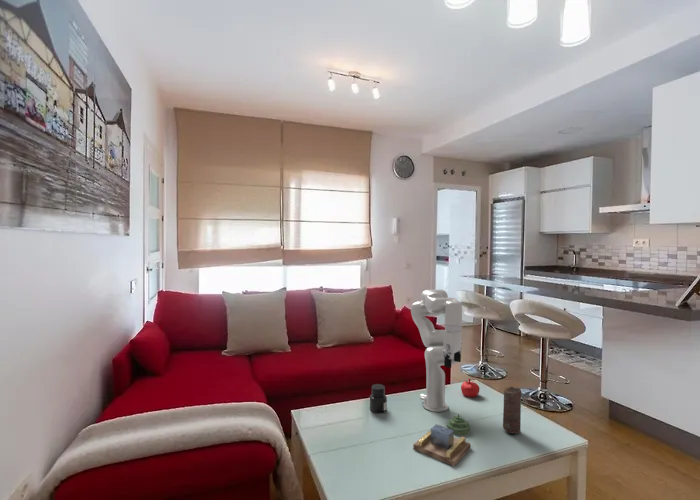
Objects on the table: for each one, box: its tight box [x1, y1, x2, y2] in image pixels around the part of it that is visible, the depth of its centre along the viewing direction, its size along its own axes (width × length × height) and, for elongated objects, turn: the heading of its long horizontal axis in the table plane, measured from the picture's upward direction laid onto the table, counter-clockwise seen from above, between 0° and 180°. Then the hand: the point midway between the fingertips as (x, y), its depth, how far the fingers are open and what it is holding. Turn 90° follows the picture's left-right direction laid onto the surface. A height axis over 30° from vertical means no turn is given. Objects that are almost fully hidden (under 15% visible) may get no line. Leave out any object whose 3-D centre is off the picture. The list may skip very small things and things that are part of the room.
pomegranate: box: [460, 378, 481, 398], centre depth 205 cm, size 10×10×9 cm
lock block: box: [430, 424, 455, 450], centre depth 152 cm, size 8×5×6 cm, turn 50°
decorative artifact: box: [446, 414, 471, 436], centre depth 167 cm, size 10×7×10 cm
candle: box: [502, 386, 522, 435], centre depth 165 cm, size 8×7×20 cm
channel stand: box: [412, 429, 472, 467], centre depth 152 cm, size 18×16×4 cm
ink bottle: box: [369, 383, 388, 414], centre depth 187 cm, size 10×9×12 cm
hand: (452, 364), depth 168 cm, fingers open, 9 cm apart
